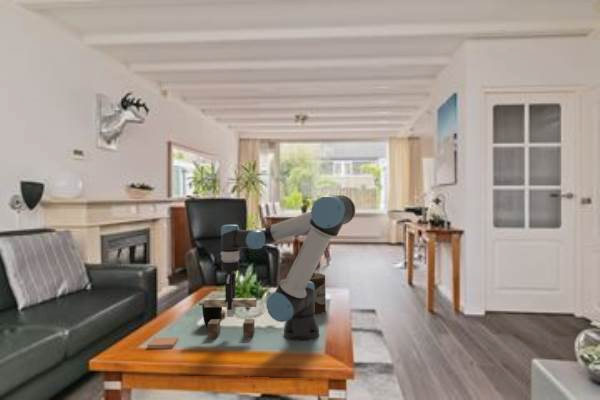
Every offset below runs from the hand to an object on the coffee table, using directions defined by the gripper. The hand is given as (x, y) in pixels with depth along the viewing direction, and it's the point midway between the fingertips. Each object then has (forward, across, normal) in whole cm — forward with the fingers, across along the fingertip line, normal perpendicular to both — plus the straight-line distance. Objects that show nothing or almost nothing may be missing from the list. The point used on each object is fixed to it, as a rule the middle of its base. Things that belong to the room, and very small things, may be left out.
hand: (230, 315), depth 173 cm
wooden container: (+9, -35, +35) cm, 50 cm away
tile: (+8, +10, -21) cm, 24 cm away
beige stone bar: (-4, 0, 0) cm, 4 cm away
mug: (+9, -16, -12) cm, 22 cm away
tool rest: (+9, 0, 0) cm, 9 cm away
